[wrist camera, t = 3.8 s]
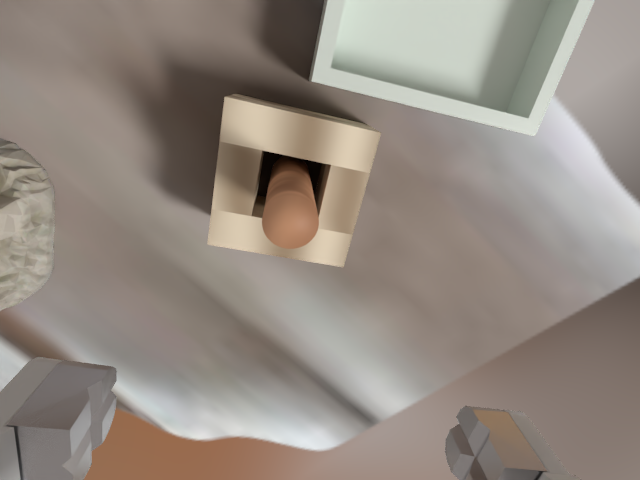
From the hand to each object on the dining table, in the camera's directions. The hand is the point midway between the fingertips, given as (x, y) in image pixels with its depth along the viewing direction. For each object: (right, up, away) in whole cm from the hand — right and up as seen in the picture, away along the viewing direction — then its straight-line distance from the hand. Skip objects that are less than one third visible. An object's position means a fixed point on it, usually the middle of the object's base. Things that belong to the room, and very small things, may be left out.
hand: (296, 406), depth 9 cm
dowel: (-2, +9, +21) cm, 23 cm away
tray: (+9, +20, +17) cm, 27 cm away
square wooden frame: (-2, +9, +21) cm, 23 cm away
